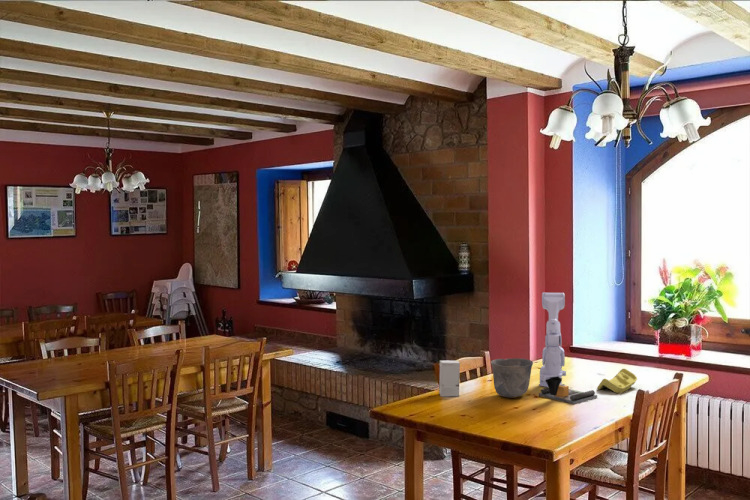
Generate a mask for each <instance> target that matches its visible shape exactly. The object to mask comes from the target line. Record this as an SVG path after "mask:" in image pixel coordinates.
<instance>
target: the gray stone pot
mask: <svg viewBox="0 0 750 500" xmlns="http://www.w3.org/2000/svg"><path fill="white" fill-rule="evenodd" d="M533 363H534V361H532V360H531V359H526V358H521V357H520V358H516V357H513V358H498V359H497V358H496V359H492V360H491V361H490V364H491V368H492V369H491V370H492V375H493V376H492V378H493V388H494V389H495V392H496V393H497V394H498V396H500V397H504V398H510V399H511V398H517V397H521V396H523V395H525V394H526V393H527V392H528V390H529V387H530V381H531V373H532V368H533Z"/></svg>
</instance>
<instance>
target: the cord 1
mask: <svg viewBox="0 0 750 500" xmlns="http://www.w3.org/2000/svg"><path fill="white" fill-rule="evenodd" d="M561 385H565V384H564V383H562V384H561ZM548 392H550V391H549V387H544V388H541V390H540V393H543V394H544V393H548Z"/></svg>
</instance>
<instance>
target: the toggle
mask: <svg viewBox="0 0 750 500" xmlns="http://www.w3.org/2000/svg"><path fill="white" fill-rule="evenodd" d="M565 385H566V384H564V385H561V384H560V385H559V387H558V391H557V394H556V395H558V396H563V397H565V396H569V389H570V388H569V385H566V386H565Z"/></svg>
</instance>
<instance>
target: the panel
mask: <svg viewBox="0 0 750 500" xmlns="http://www.w3.org/2000/svg"><path fill="white" fill-rule="evenodd" d="M583 392H584V391H579V390H576V389H575V390H574V389H571V388H569V396H565V397H563V396H558V395H555V396H553V395H551V394H550V392H548V393H544V394H543V393H541V392H539V393H538V397H541V398H546V399H551V400H555V401H559V402H563V403H567V404H571V405H576V404H579V403H580V404H581V403H584V402H587V401H591V400H594V399H598V395H597V394H594V395H591V396H587V397H584V398H580V399H576V400H571V399H570V396H572V395H575V394H579V393H583Z"/></svg>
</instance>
